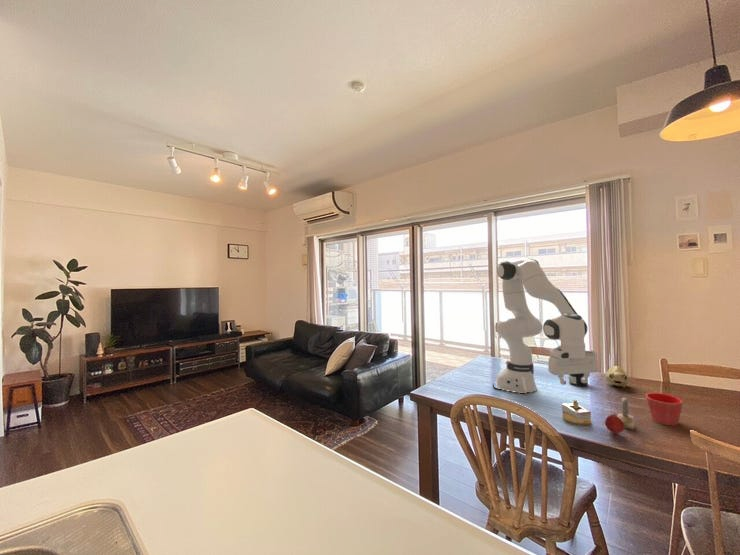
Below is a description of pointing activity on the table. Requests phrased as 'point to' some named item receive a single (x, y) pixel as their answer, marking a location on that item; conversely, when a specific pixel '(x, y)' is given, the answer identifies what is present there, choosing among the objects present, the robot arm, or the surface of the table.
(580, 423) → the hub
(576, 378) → the ink bottle
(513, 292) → the robot arm
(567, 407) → the white flat block
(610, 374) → the toy pig
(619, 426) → the red rounded piece
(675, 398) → the flower pot
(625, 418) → the stand
